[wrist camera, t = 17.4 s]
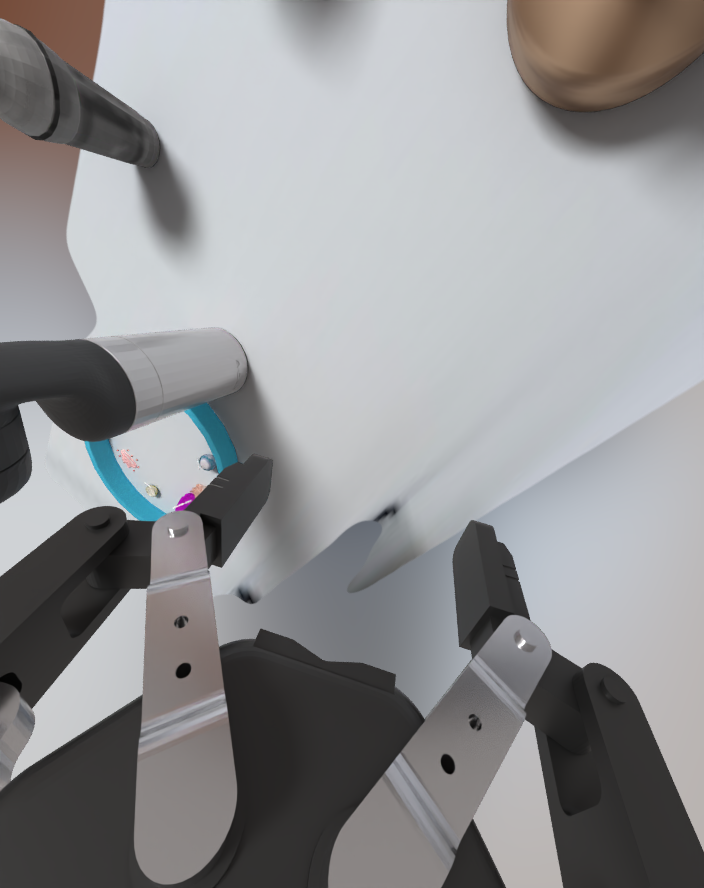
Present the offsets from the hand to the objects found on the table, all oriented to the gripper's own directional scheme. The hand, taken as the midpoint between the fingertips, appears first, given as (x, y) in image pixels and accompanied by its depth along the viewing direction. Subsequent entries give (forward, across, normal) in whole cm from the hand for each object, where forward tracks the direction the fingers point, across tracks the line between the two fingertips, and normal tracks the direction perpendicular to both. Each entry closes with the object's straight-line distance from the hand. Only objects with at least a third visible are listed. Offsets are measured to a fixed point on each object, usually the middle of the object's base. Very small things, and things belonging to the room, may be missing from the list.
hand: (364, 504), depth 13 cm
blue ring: (+32, +35, +29) cm, 56 cm away
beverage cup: (+35, +36, -13) cm, 52 cm away
